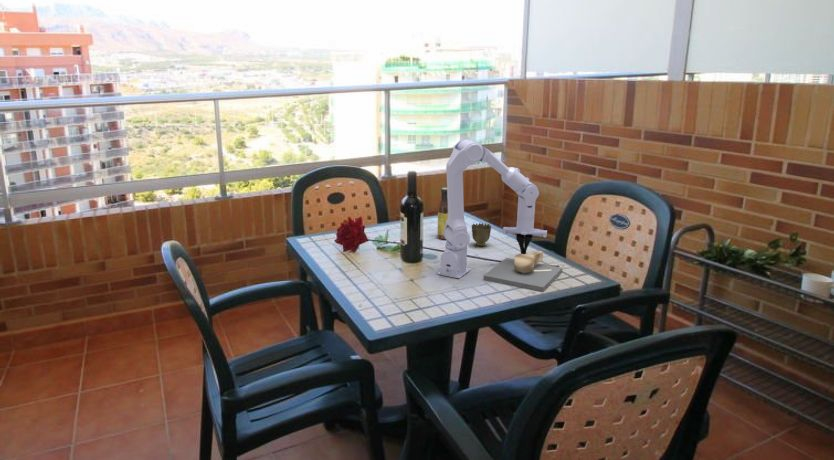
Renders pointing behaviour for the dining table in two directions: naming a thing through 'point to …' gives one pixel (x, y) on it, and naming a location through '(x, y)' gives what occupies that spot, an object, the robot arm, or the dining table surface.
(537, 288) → the base plate
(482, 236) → the cup
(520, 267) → the beige rounded piece
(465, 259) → the robot arm
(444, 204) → the sauce bottle
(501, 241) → the dining table surface
